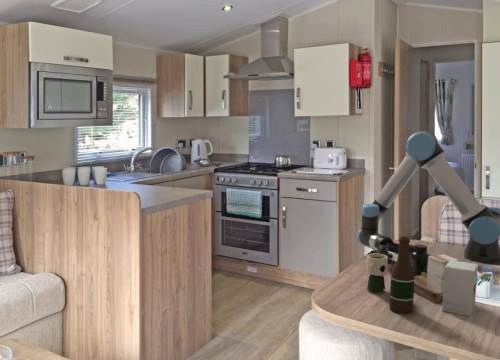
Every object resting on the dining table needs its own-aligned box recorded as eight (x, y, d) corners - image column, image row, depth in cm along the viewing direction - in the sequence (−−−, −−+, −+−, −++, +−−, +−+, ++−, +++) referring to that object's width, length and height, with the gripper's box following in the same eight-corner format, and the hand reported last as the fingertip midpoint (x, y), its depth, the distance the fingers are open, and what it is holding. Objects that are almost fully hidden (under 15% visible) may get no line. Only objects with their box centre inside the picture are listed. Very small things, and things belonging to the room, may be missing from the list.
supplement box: (471, 317, 154) (474, 271, 152) (441, 311, 159) (444, 266, 157) (475, 307, 162) (478, 263, 160) (446, 302, 166) (449, 259, 164)
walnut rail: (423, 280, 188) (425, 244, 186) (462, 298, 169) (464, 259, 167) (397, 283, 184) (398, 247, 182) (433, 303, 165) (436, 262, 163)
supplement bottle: (429, 278, 189) (431, 248, 188) (411, 277, 191) (412, 247, 189) (426, 273, 196) (428, 244, 194) (409, 272, 197) (410, 243, 196)
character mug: (379, 297, 170) (380, 261, 168) (360, 293, 174) (361, 257, 172) (391, 289, 178) (392, 254, 177) (372, 284, 183) (374, 250, 181)
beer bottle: (385, 305, 163) (388, 235, 160) (407, 304, 164) (411, 234, 161) (393, 314, 155) (397, 241, 152) (417, 314, 156) (421, 240, 153)
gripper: (405, 249, 220) (437, 263, 200) (356, 254, 212) (385, 269, 192) (405, 233, 219) (438, 245, 199) (357, 237, 211) (386, 251, 191)
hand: (412, 257), depth 195 cm, fingers open, 13 cm apart
